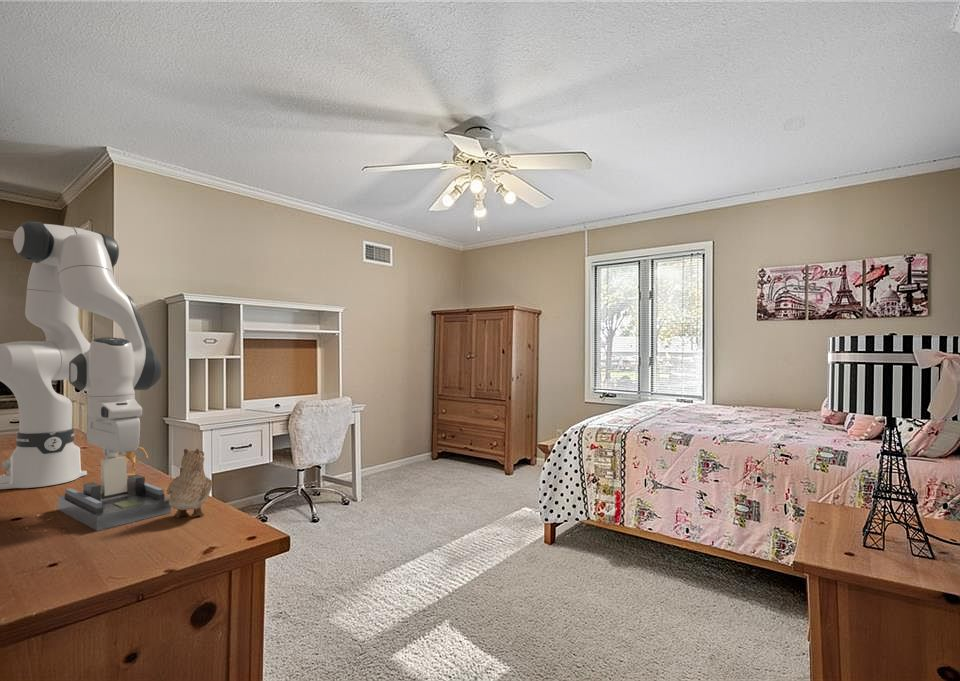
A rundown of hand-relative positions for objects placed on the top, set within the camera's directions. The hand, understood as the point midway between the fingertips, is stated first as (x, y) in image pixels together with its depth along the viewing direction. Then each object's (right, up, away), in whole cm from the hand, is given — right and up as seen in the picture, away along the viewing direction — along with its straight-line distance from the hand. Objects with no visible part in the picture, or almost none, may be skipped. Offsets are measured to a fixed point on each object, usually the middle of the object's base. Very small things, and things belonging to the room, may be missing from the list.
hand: (111, 466), depth 114 cm
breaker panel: (+2, -10, -2) cm, 10 cm away
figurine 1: (-8, -10, +17) cm, 22 cm away
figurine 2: (+21, -10, -5) cm, 24 cm away
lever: (+2, -6, -1) cm, 6 cm away
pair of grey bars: (+2, -7, -2) cm, 7 cm away
